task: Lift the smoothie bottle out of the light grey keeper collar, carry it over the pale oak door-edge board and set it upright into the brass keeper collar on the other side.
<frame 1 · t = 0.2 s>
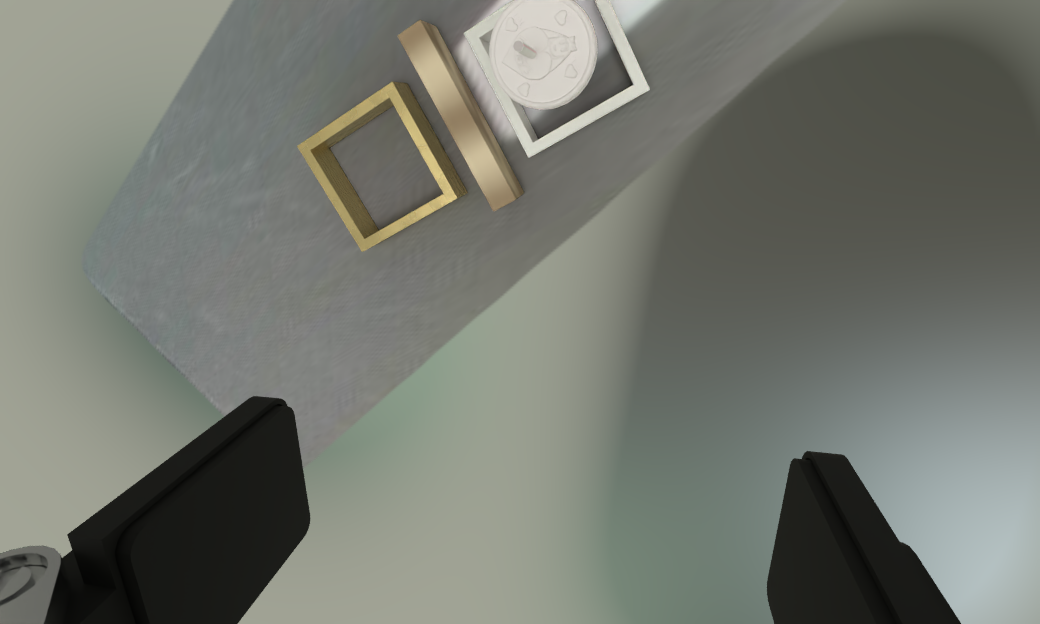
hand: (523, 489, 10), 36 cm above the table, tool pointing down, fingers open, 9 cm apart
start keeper: (560, 64, 41), on the table
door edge: (471, 119, 44), on the table
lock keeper: (391, 168, 46), on the table
smoothie: (561, 64, 41), resting in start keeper
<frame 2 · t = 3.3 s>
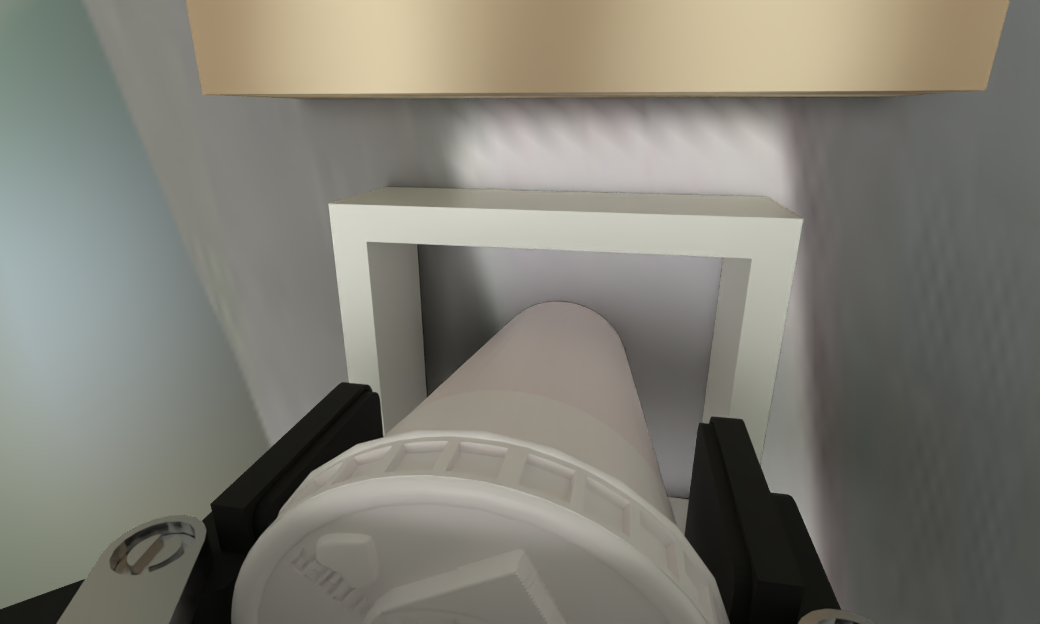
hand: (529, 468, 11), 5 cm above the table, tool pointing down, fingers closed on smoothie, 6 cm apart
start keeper: (559, 364, 16), on the table
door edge: (568, 51, 13), on the table
smoothie: (560, 360, 16), resting in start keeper, touching gripper
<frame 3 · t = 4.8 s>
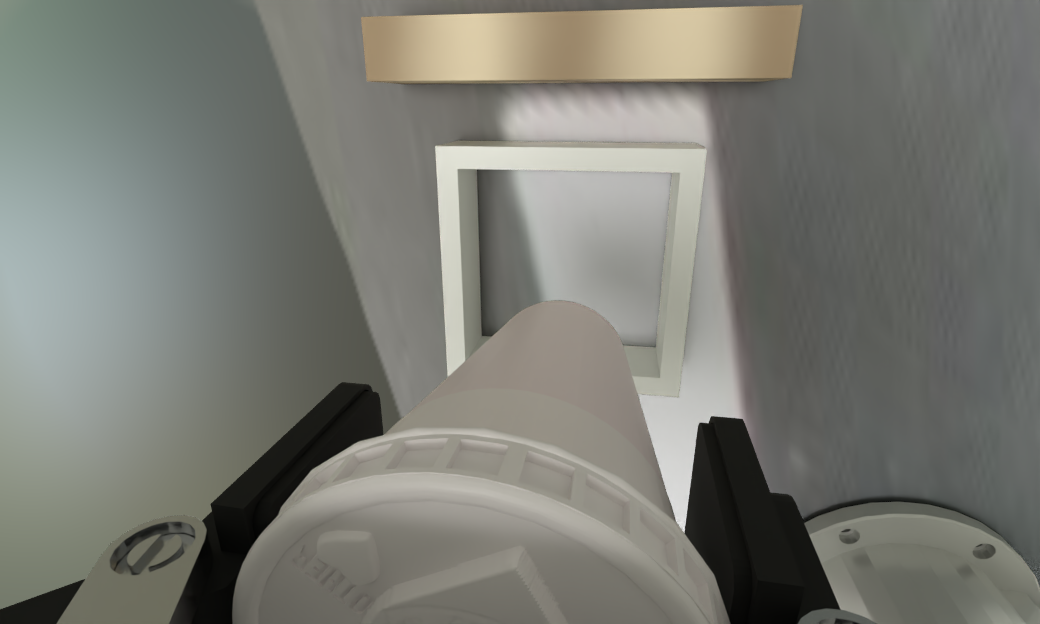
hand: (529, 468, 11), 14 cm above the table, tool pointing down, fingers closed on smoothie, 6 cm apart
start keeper: (569, 257, 24), on the table
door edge: (575, 54, 21), on the table
smoothie: (560, 360, 16), point 9 cm above the table, touching gripper
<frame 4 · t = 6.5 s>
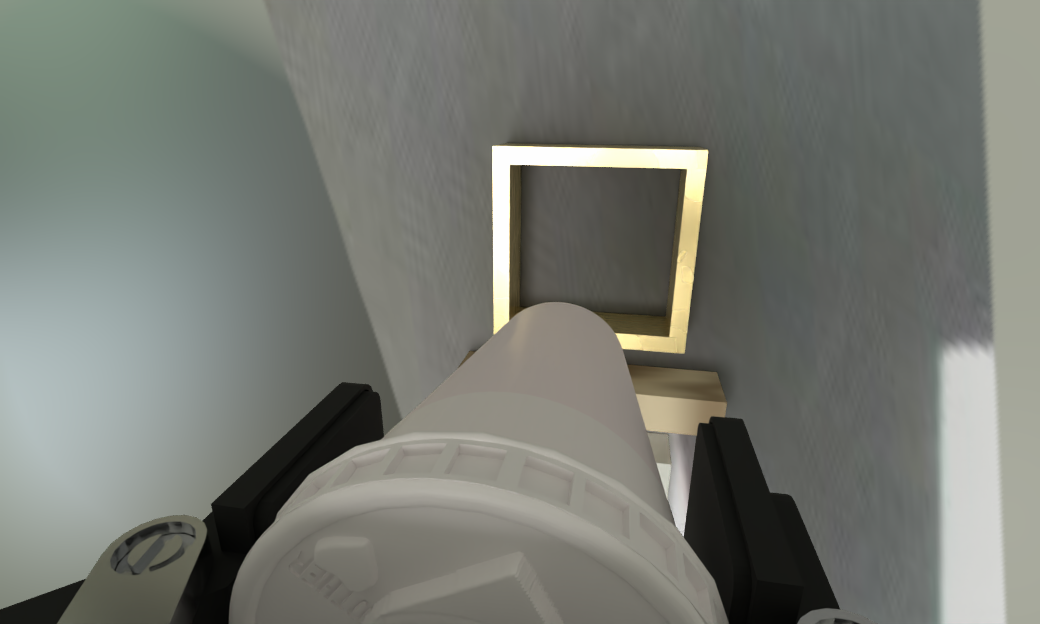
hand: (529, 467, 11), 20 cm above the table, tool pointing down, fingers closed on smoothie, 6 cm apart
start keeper: (581, 493, 35), on the table
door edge: (587, 377, 32), on the table
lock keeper: (595, 240, 29), on the table
smoothie: (558, 361, 16), point 15 cm above the table, touching gripper
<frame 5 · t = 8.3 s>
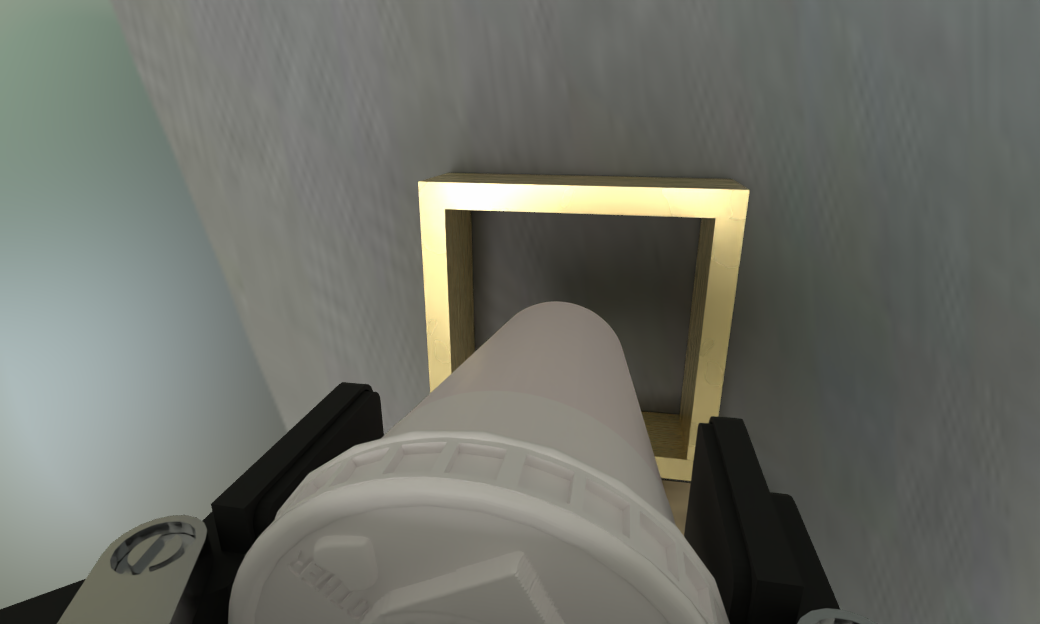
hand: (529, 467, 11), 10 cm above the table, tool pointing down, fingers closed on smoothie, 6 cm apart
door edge: (571, 489, 23), on the table
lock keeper: (578, 308, 20), on the table
smoothie: (558, 361, 16), point 5 cm above the table, touching gripper
when the fingers open (6 cm above the table, at t = 9.7 s): smoothie stays where it is, resting in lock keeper.
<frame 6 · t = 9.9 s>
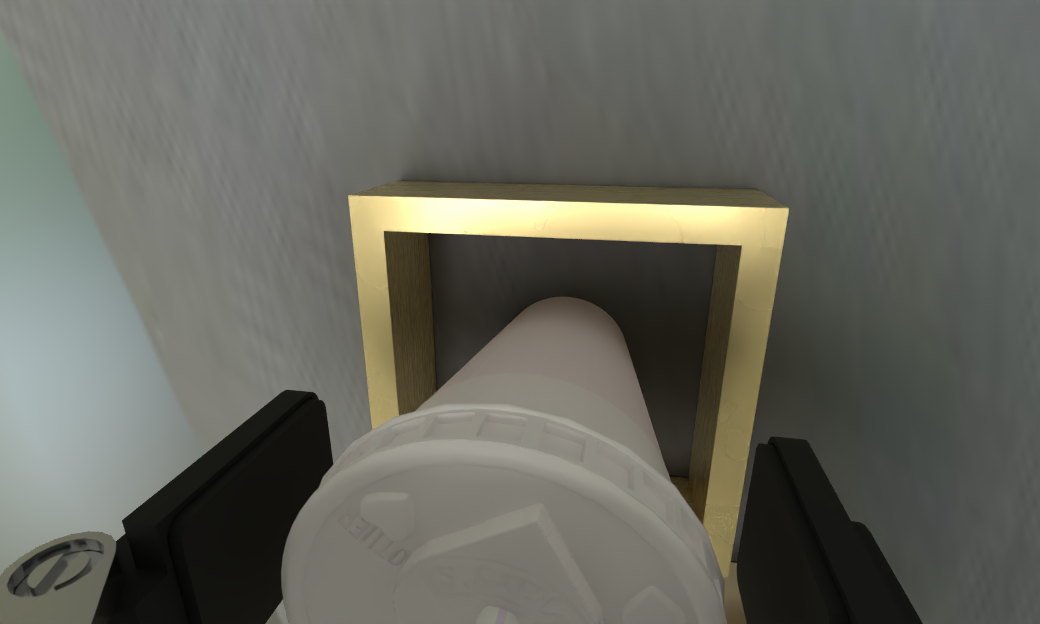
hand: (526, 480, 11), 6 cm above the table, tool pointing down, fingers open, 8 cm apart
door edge: (556, 561, 19), on the table
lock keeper: (562, 349, 16), on the table
smoothie: (565, 353, 17), resting in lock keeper
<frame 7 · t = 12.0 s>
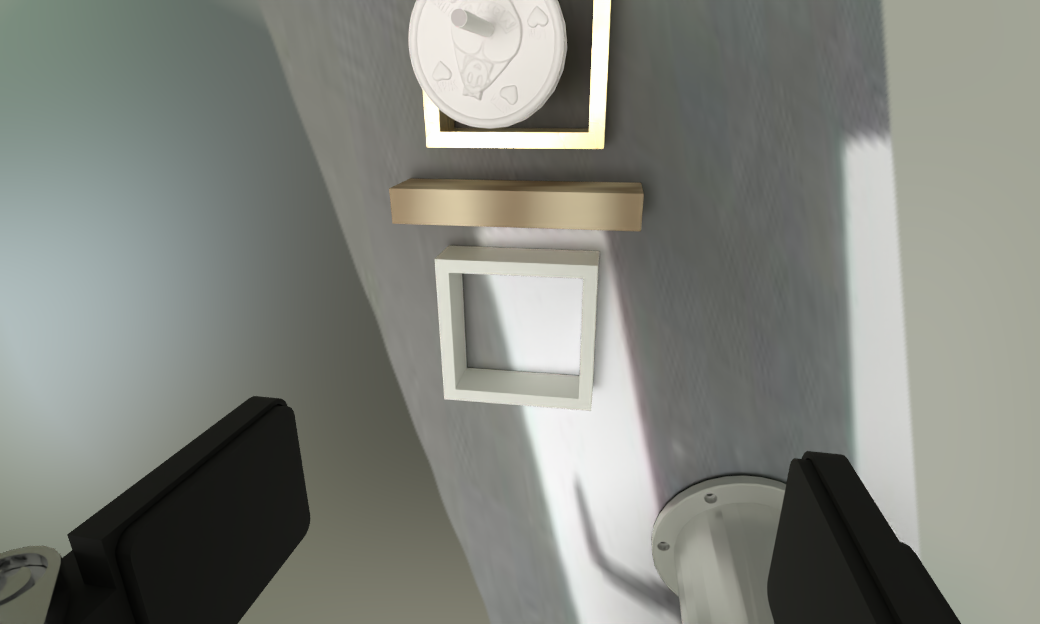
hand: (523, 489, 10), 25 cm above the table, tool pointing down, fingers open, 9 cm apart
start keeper: (522, 318, 37), on the table
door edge: (522, 197, 34), on the table
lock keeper: (521, 51, 31), on the table
smoothie: (522, 55, 31), resting in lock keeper
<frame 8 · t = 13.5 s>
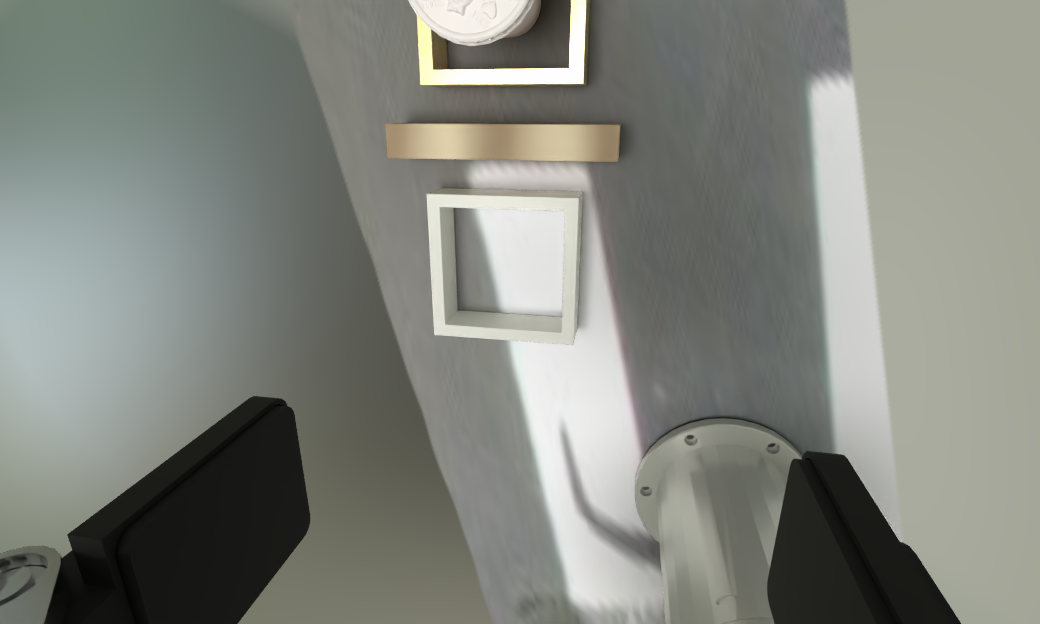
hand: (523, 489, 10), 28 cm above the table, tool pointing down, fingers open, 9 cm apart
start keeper: (510, 259, 39), on the table
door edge: (510, 139, 36), on the table
smoothie: (511, 4, 33), resting in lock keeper
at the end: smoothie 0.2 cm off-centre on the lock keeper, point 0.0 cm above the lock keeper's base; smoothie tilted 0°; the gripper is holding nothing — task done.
